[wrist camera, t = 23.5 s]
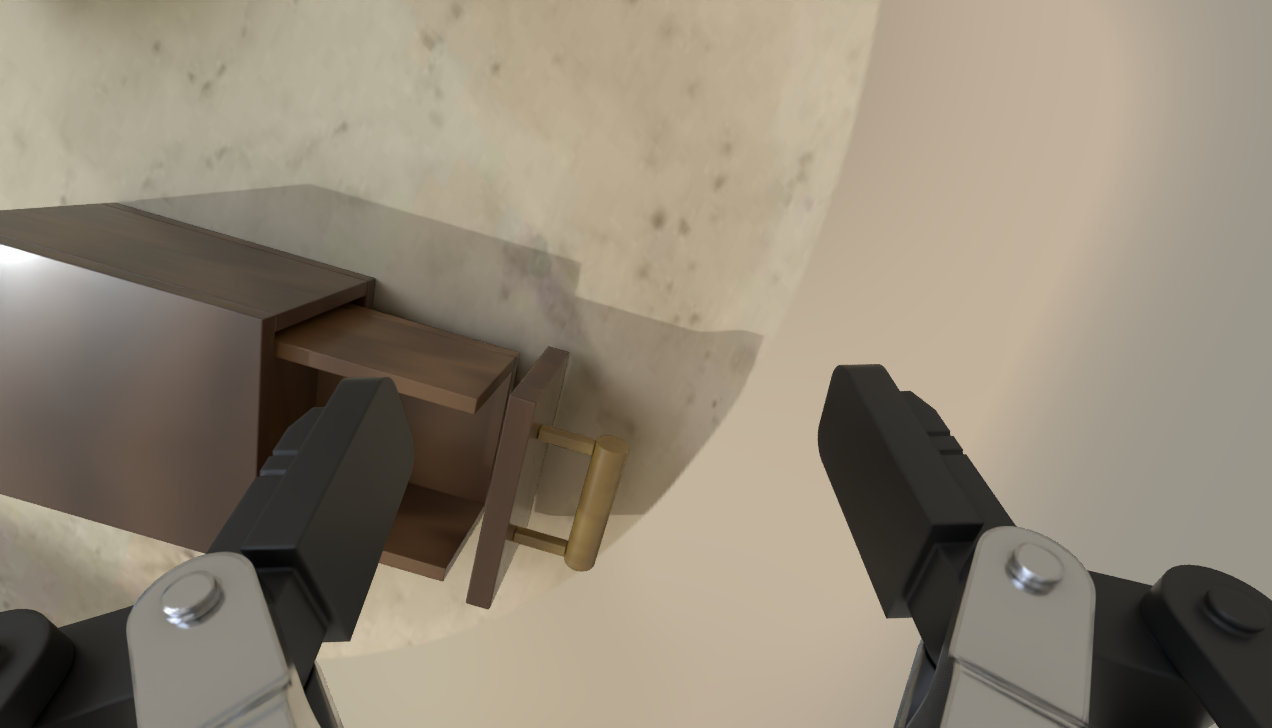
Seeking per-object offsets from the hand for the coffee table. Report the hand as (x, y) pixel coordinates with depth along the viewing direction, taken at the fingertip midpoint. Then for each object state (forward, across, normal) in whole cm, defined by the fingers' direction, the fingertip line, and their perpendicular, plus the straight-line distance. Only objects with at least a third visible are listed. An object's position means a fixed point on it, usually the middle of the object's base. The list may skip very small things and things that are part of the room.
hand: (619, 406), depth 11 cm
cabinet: (+20, -22, -12) cm, 32 cm away
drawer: (+16, -8, -15) cm, 23 cm away
